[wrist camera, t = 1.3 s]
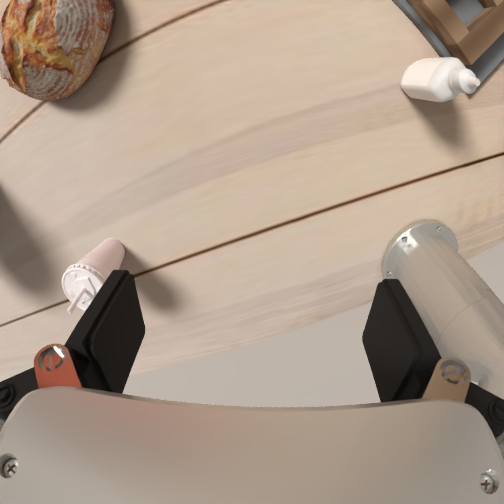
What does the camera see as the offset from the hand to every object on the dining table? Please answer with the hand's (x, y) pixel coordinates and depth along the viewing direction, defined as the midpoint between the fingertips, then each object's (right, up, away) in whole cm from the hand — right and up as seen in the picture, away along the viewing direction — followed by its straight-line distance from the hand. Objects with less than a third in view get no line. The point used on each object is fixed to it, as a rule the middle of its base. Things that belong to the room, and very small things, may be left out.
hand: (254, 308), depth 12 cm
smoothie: (-19, +2, +29) cm, 35 cm away
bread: (-24, +30, +14) cm, 40 cm away
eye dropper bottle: (+19, +23, +17) cm, 34 cm away
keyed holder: (+25, +33, +11) cm, 43 cm away
